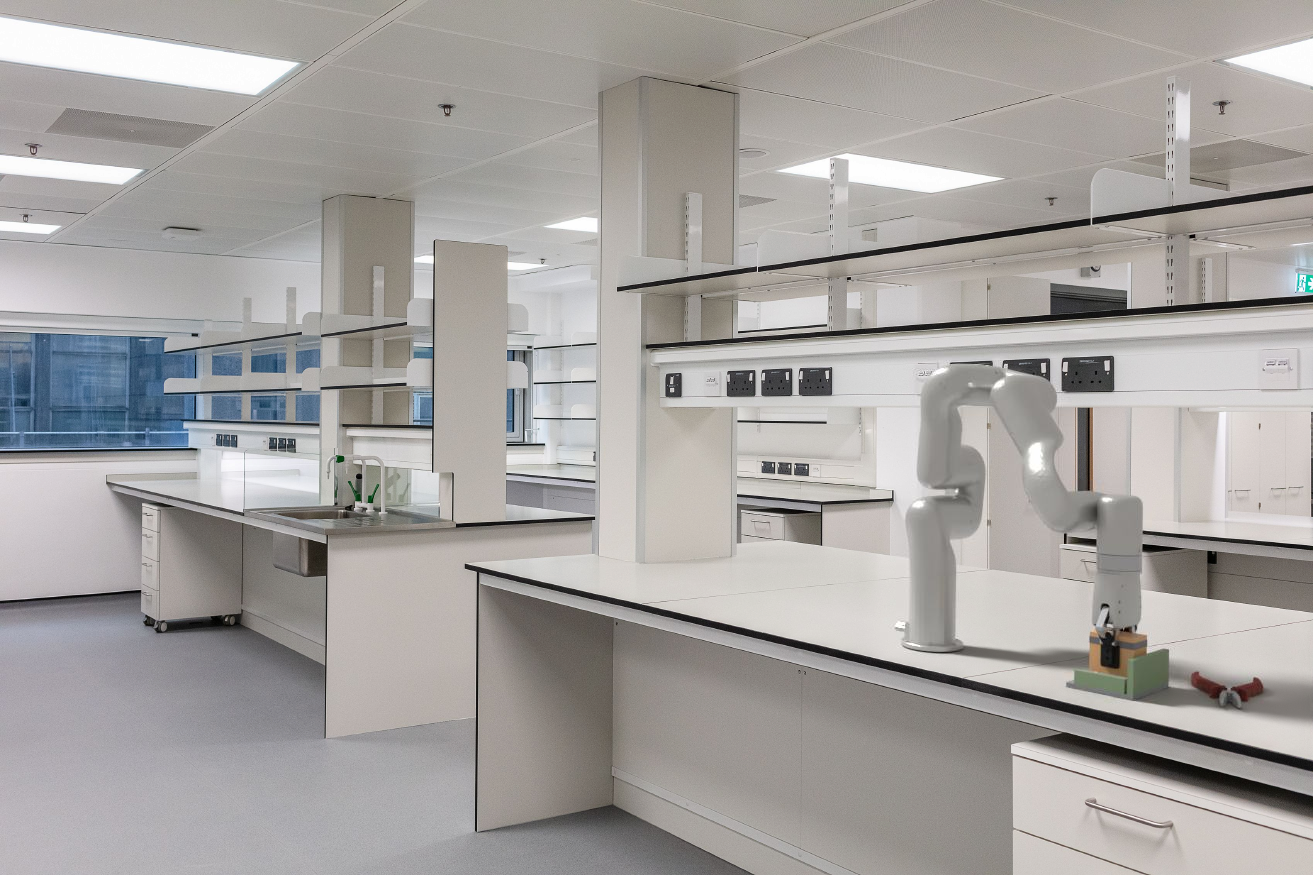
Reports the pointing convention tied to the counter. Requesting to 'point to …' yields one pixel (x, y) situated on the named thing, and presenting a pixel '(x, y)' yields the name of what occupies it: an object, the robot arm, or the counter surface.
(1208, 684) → the pliers
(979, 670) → the counter surface
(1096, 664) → the chute block
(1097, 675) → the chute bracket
